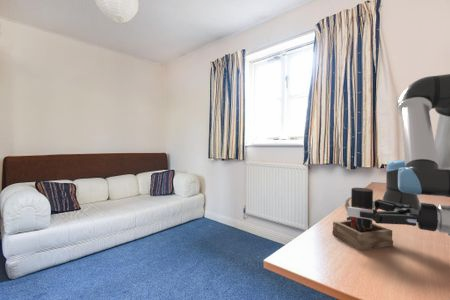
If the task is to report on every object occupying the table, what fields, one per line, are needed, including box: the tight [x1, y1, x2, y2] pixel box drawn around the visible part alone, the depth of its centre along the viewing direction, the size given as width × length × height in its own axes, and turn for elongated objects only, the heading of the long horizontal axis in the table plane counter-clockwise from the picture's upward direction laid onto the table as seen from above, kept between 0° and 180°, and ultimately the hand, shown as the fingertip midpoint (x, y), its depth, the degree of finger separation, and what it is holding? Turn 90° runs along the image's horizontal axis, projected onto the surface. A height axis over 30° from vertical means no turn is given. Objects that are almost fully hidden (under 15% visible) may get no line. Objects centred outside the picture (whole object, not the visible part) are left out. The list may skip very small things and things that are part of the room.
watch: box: [344, 197, 351, 220], centre depth 86 cm, size 6×8×11 cm
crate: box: [331, 219, 394, 251], centre depth 74 cm, size 12×12×4 cm
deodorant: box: [350, 187, 374, 233], centre depth 74 cm, size 6×6×15 cm
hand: (350, 206), depth 76 cm, fingers open, 13 cm apart
